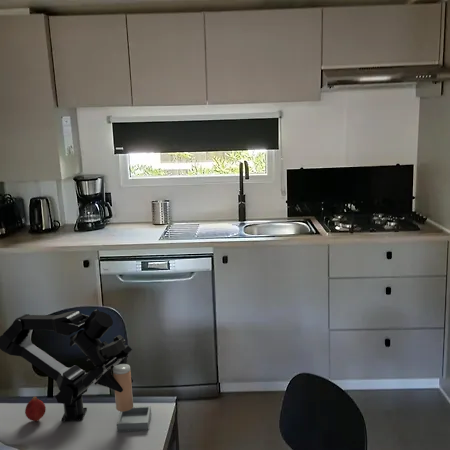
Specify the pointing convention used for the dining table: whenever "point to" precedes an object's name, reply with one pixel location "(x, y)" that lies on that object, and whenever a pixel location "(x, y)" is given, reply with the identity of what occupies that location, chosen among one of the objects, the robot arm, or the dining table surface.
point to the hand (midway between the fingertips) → (127, 387)
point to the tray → (134, 419)
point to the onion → (35, 409)
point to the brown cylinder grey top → (123, 387)
